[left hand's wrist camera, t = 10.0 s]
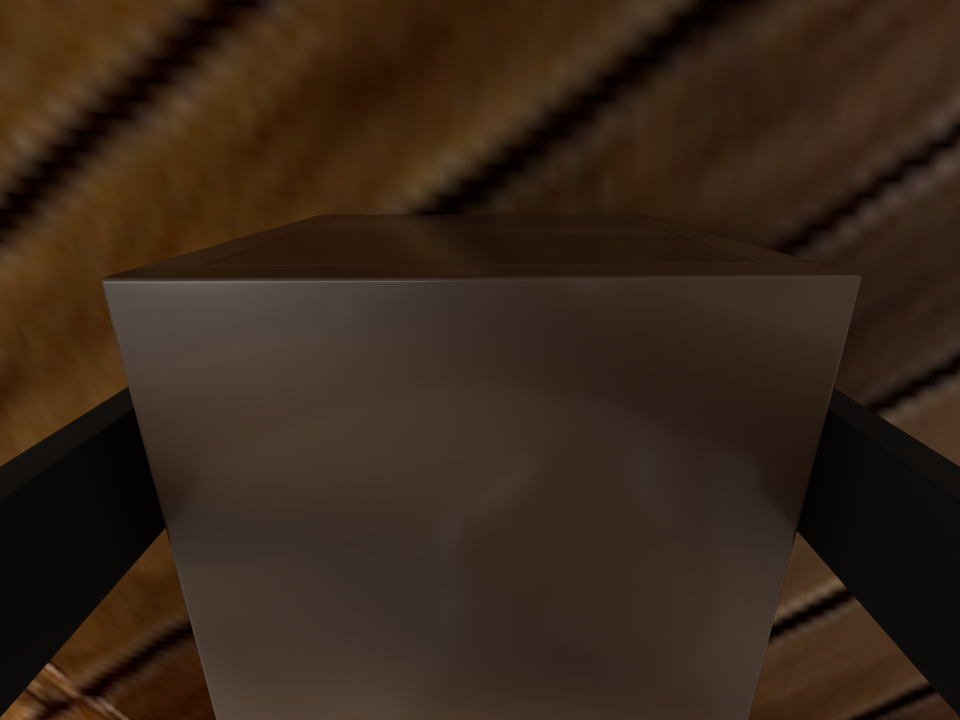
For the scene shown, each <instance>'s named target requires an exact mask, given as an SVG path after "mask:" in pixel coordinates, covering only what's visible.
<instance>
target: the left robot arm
mask: <svg viewBox="0 0 960 720" xmlns="http://www.w3.org/2000/svg"><path fill="white" fill-rule="evenodd" d="M165 528H166V527H165V523H164V519H163V515H162V512H161V508H160V504H159V500H158V496H157V493H156V489H155V485H154V481H153V478H152V474H151V470H150V466H149V462H148V459H147V455H146V451H145V447H144V443H143V440H142V436H141V432H140V428H139V425H138V421H137V417H136V413H135V409H134V406H133V402H132V398H131V394H130V391H129V387H127V388H125V389H124V390H122V391H120V392H119V393H117V394H116V395H114V396H112V397H111V398H109V399H108V400H106V401H104V402H103V403H101V404H100V405H98V406H96V407H95V408H93V409H92V410H90V411H88V412H87V413H85V414H84V415H82V416H80V417H79V418H77V419H76V420H74V421H72V422H71V423H69V424H68V425H66V426H65V427H63V428H61V429H60V430H58V431H57V432H55V433H53V434H52V435H50V436H49V437H47V438H45V439H44V440H42V441H41V442H39V443H37V444H36V445H34V446H33V447H31V448H29V449H28V450H26V451H25V452H23V453H21V454H20V455H18V456H17V457H15V458H13V459H12V460H10V461H9V462H7V463H5V464H4V465H2V466H1V467H0V717H1V716H2V715H3V714H4V713H5V711H6V710H7V709H8V708H9V707H10V706H11V705H12V703H13V702H14V701H15V700H16V699H17V698H18V697H19V695H20V694H21V693H22V692H23V691H24V690H25V688H26V687H27V686H28V685H29V684H30V683H31V682H32V680H33V679H34V678H35V677H36V676H37V675H38V674H39V672H40V671H41V670H42V669H43V668H44V667H45V666H46V664H47V663H48V662H49V661H50V660H51V659H52V657H53V656H54V655H55V654H56V653H57V652H58V651H59V649H60V648H61V647H62V646H63V645H64V644H65V643H66V641H67V640H68V639H69V638H70V637H71V636H72V635H73V633H74V632H75V631H76V630H77V629H78V628H79V626H80V625H81V624H82V623H83V622H84V621H85V620H86V618H87V617H88V616H89V615H90V614H91V613H92V612H93V610H94V609H95V608H96V607H97V606H98V605H99V603H100V602H101V601H102V600H103V599H104V598H105V597H106V595H107V594H108V593H109V592H110V591H111V590H112V589H113V587H114V586H115V585H116V584H117V583H118V582H119V581H120V579H121V578H122V577H123V576H124V575H125V574H126V572H127V571H128V570H129V569H130V568H131V567H132V566H133V564H134V563H135V562H136V561H137V560H138V559H139V558H140V556H141V555H142V554H143V553H144V552H145V551H146V549H147V548H148V547H149V546H150V545H151V544H152V543H153V541H154V540H155V539H156V538H157V537H158V536H159V535H160V533H161V532H162V531H163V530H164V529H165ZM797 531H798V532H799V533H800V535H801V536H802V537H803V538H804V539H805V540H806V541H807V543H808V544H809V545H810V546H811V547H812V548H813V549H814V551H815V552H816V553H817V554H818V555H819V556H820V558H821V559H822V560H823V561H824V562H825V563H826V564H827V566H828V567H829V568H830V569H831V570H832V571H833V572H834V574H835V575H836V576H837V577H838V578H839V579H840V581H841V582H842V583H843V584H844V585H845V586H846V587H847V589H848V590H849V591H850V592H851V593H852V594H853V595H854V597H855V598H856V599H857V600H858V601H859V602H860V603H861V605H862V606H863V607H864V608H865V609H866V610H867V612H868V613H869V614H870V615H871V616H872V617H873V618H874V620H875V621H876V622H877V623H878V624H879V625H880V626H881V628H882V629H883V630H884V631H885V632H886V633H887V635H888V636H889V637H890V638H891V639H892V640H893V641H894V643H895V644H896V645H897V646H898V647H899V648H900V649H901V651H902V652H903V653H904V654H905V655H906V656H907V657H908V659H909V660H910V661H911V662H912V663H913V664H914V666H915V667H916V668H917V669H918V670H919V671H920V672H921V674H922V675H923V676H924V677H925V678H926V679H927V680H928V682H929V683H930V684H931V685H932V686H933V687H934V688H935V690H936V691H937V692H938V693H939V694H940V695H941V697H942V698H943V699H944V700H945V701H946V702H947V703H948V705H949V706H950V707H951V708H952V709H953V710H954V711H955V713H956V714H957V715H958V716H959V717H960V467H959V466H958V465H956V464H955V463H953V462H951V461H950V460H948V459H947V458H945V457H943V456H942V455H940V454H939V453H937V452H935V451H934V450H932V449H931V448H929V447H927V446H926V445H924V444H923V443H921V442H919V441H918V440H916V439H915V438H913V437H911V436H910V435H908V434H907V433H905V432H903V431H902V430H900V429H899V428H897V427H895V426H894V425H892V424H891V423H889V422H888V421H886V420H884V419H883V418H881V417H880V416H878V415H876V414H875V413H873V412H872V411H870V410H868V409H867V408H865V407H864V406H862V405H860V404H859V403H857V402H856V401H854V400H852V399H851V398H849V397H848V396H846V395H844V394H843V393H841V392H840V391H838V390H836V389H835V388H833V392H832V396H831V399H830V403H829V407H828V411H827V415H826V419H825V423H824V427H823V430H822V434H821V438H820V442H819V446H818V450H817V454H816V458H815V462H814V465H813V469H812V473H811V477H810V481H809V485H808V489H807V493H806V496H805V500H804V504H803V508H802V512H801V516H800V520H799V524H798V528H797Z"/></svg>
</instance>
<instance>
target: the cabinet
mask: <svg viewBox="0 0 960 720" xmlns="http://www.w3.org/2000/svg"><path fill="white" fill-rule="evenodd" d="M860 283H861V276H860V275H858V274H855V273H851V272H848V271H844V270H841V269H837V268H833V267H830V266H826V265H823V264H817V263H815V262H812V261H809V260H805V259H801V258H798V257H794V256H790V255H787V254H783V253H780V252H776V251H772V250H769V249H765V248H762V247H758V246H754V245H751V244H747V243H744V242H740V241H736V240H733V239H729V238H726V237H722V236H718V235H715V234H711V233H708V232H704V231H700V230H697V229H693V228H689V227H686V226H682V225H679V224H675V223H671V222H668V221H664V220H661V219H657V218H653V217H650V216H646V215H643V214H464V215H319V216H315V217H312V218H308V219H305V220H301V221H298V222H294V223H291V224H287V225H284V226H280V227H277V228H273V229H270V230H266V231H263V232H260V233H256V234H253V235H249V236H246V237H242V238H239V239H235V240H232V241H228V242H225V243H221V244H218V245H214V246H211V247H208V248H204V249H201V250H197V251H194V252H190V253H187V254H183V255H180V256H176V257H173V258H169V259H166V260H163V261H159V262H156V263H152V264H149V265H146V266H144V267H139V268H135V269H132V270H128V271H125V272H122V273H118V274H115V275H111V276H108V277H105V278H103V279H102V280H101V285H102V288H103V292H104V296H105V300H106V303H107V307H108V311H109V315H110V319H111V322H112V326H113V330H114V334H115V338H116V341H117V345H118V349H119V353H120V356H121V360H122V364H123V368H124V372H125V375H126V379H127V383H128V387H129V391H130V394H131V398H132V402H133V406H134V409H135V413H136V417H137V421H138V425H139V428H140V432H141V436H142V440H143V443H144V447H145V451H146V455H147V459H148V462H149V466H150V470H151V474H152V478H153V481H154V485H155V489H156V493H157V496H158V500H159V504H160V508H161V512H162V515H163V519H164V523H165V527H166V531H167V534H168V538H169V542H170V546H171V549H172V553H173V557H174V561H175V565H176V568H177V572H178V576H179V580H180V584H181V587H182V591H183V595H184V599H185V602H186V606H187V610H188V614H189V618H190V621H191V625H192V629H193V633H194V637H195V640H196V644H197V648H198V652H199V655H200V659H201V663H202V667H203V671H204V674H205V678H206V682H207V686H208V689H209V693H210V697H211V701H212V705H213V708H214V712H215V716H216V720H748V718H749V714H750V710H751V706H752V702H753V698H754V695H755V691H756V687H757V683H758V679H759V675H760V671H761V667H762V663H763V660H764V656H765V652H766V648H767V644H768V640H769V636H770V632H771V629H772V625H773V621H774V617H775V613H776V609H777V605H778V601H779V597H780V594H781V590H782V586H783V582H784V578H785V574H786V570H787V566H788V563H789V559H790V555H791V551H792V547H793V543H794V539H795V535H796V531H797V528H798V524H799V520H800V516H801V512H802V508H803V504H804V500H805V496H806V493H807V489H808V485H809V481H810V477H811V473H812V469H813V465H814V462H815V458H816V454H817V450H818V446H819V442H820V438H821V434H822V430H823V427H824V423H825V419H826V415H827V411H828V407H829V403H830V399H831V396H832V392H833V388H834V384H835V380H836V376H837V372H838V368H839V364H840V361H841V357H842V353H843V349H844V345H845V341H846V337H847V333H848V329H849V326H850V322H851V318H852V314H853V310H854V306H855V302H856V298H857V295H858V291H859V287H860Z"/></svg>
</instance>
